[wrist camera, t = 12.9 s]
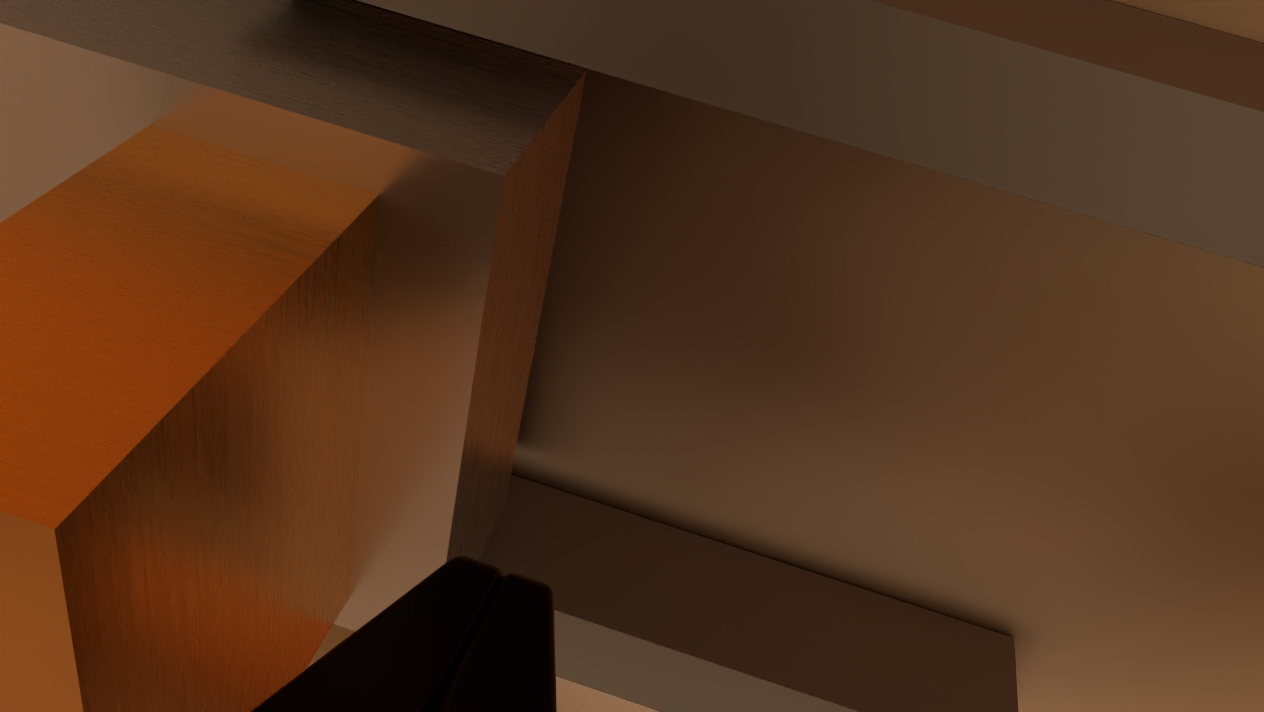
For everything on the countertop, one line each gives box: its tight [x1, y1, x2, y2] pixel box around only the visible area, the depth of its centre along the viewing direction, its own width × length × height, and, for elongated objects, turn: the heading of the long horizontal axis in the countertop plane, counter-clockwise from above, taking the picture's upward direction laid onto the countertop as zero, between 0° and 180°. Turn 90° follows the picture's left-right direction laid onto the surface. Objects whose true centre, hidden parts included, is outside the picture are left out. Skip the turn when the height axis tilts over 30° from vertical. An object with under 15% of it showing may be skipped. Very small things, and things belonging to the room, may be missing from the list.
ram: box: [0, 0, 587, 712], centre depth 10 cm, size 5×6×6 cm
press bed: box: [357, 0, 1264, 712], centre depth 11 cm, size 22×12×5 cm, turn 78°
